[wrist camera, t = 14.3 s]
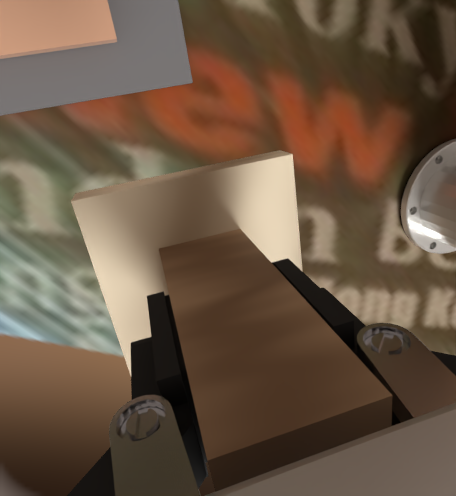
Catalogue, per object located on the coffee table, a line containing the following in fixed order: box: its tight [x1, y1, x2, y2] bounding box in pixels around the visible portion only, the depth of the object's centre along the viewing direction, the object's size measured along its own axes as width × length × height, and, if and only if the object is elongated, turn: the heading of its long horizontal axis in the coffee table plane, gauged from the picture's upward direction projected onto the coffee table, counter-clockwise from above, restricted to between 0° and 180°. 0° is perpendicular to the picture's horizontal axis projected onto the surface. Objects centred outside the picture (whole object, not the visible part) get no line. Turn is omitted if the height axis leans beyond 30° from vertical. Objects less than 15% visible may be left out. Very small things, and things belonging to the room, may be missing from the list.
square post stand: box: [71, 150, 392, 492], centre depth 11 cm, size 8×8×10 cm
